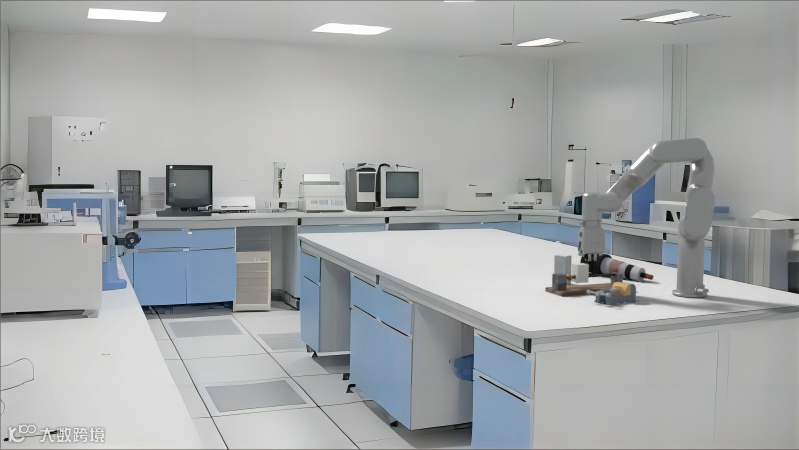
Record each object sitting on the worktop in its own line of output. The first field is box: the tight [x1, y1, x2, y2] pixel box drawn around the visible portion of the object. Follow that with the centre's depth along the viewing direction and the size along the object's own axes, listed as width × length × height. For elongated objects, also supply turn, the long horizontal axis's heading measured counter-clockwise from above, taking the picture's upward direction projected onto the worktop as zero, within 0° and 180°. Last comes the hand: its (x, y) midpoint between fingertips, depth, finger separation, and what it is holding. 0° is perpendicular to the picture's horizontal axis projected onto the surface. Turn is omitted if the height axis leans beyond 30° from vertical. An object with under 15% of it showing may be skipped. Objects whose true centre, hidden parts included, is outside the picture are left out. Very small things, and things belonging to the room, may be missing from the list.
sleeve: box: [571, 262, 590, 284], centre depth 304 cm, size 4×5×7 cm
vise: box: [587, 281, 638, 306], centre depth 283 cm, size 18×10×7 cm, turn 126°
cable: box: [580, 252, 654, 282], centre depth 338 cm, size 10×34×10 cm
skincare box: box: [553, 253, 573, 285], centre depth 323 cm, size 6×4×12 cm
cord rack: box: [544, 272, 624, 297], centre depth 305 cm, size 12×30×8 cm, turn 111°
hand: (590, 270), depth 305 cm, fingers closed
